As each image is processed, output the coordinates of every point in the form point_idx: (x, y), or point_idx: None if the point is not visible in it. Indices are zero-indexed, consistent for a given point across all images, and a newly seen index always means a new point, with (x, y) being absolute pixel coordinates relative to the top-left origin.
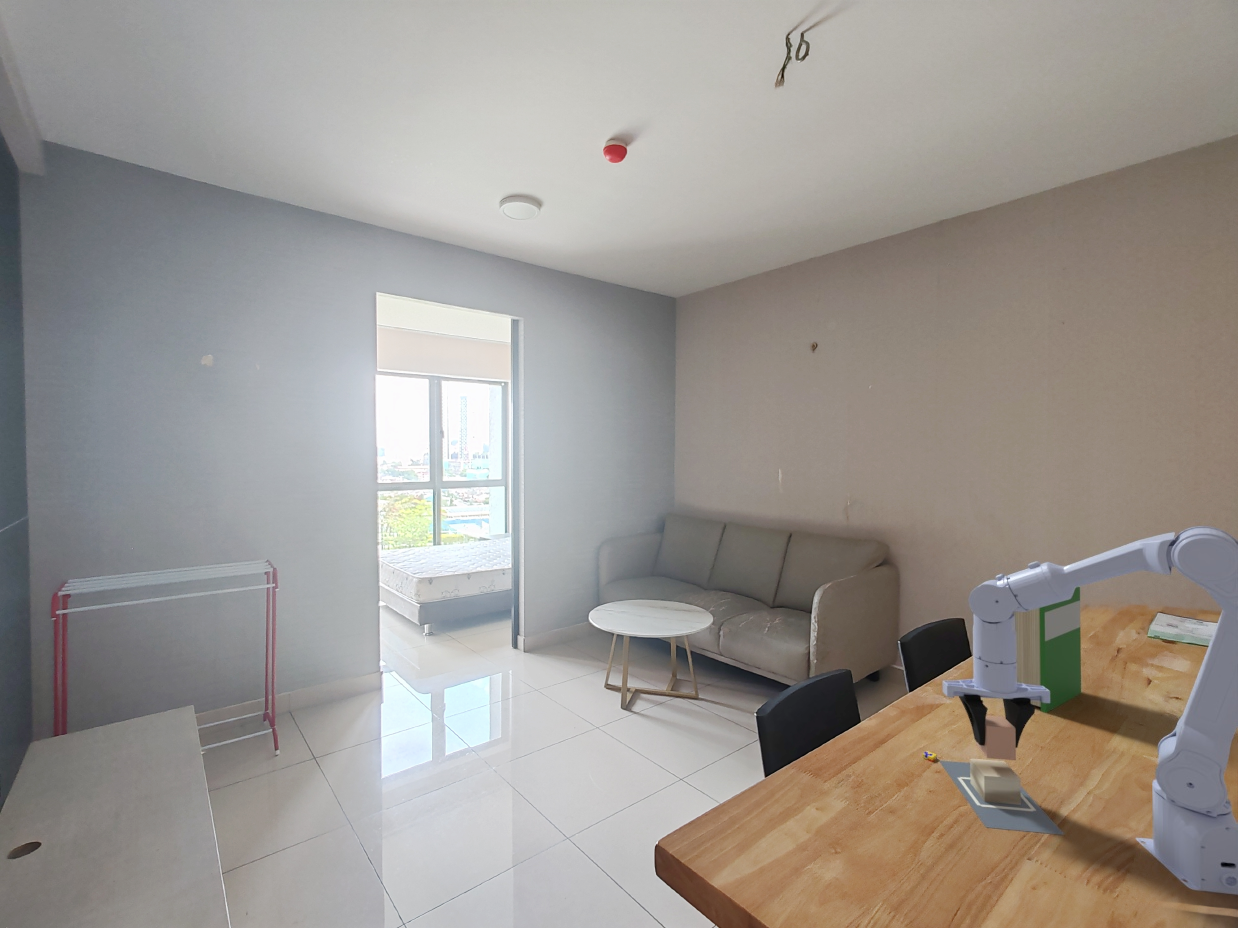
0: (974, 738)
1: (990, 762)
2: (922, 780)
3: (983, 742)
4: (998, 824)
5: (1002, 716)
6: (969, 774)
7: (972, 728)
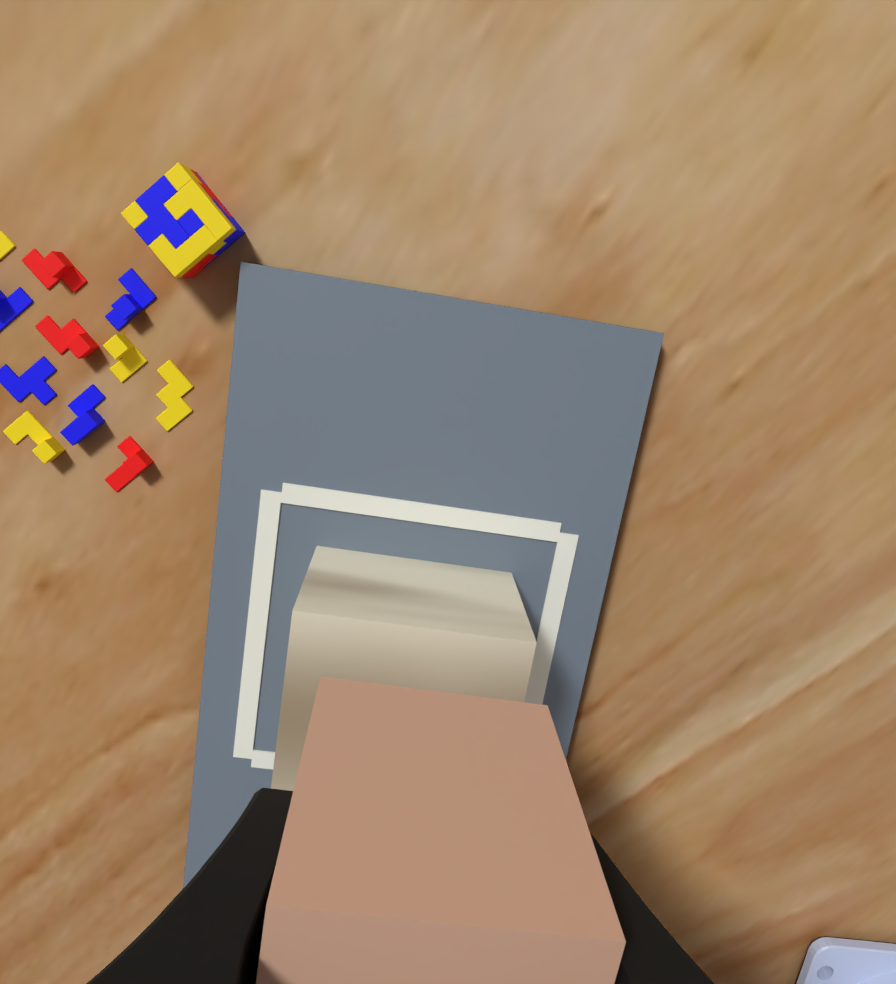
0: (254, 794)
1: (419, 660)
2: (40, 473)
3: None
4: None
5: (614, 947)
6: (366, 448)
7: (222, 844)
